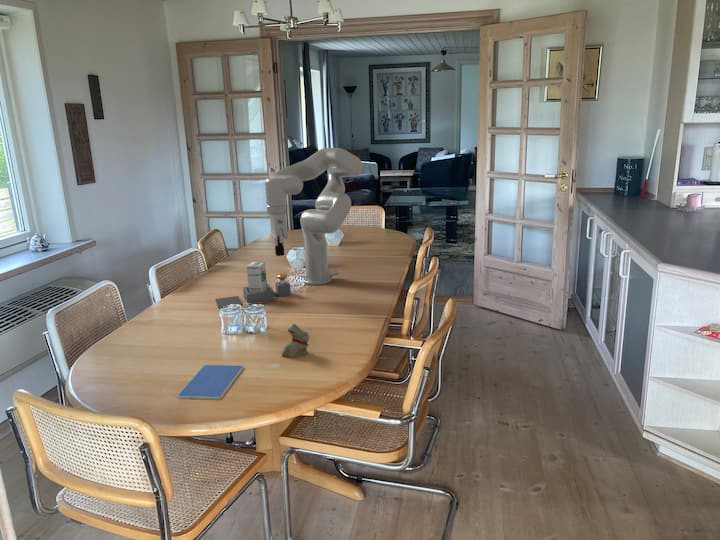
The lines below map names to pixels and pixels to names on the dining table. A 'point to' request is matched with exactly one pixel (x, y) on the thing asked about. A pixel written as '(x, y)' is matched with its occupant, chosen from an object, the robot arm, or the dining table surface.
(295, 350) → the chocolate bunny
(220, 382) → the tablet computer
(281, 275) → the plunger
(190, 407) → the dining table surface
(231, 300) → the mat
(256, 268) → the syrup box
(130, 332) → the dining table surface
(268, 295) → the housing
